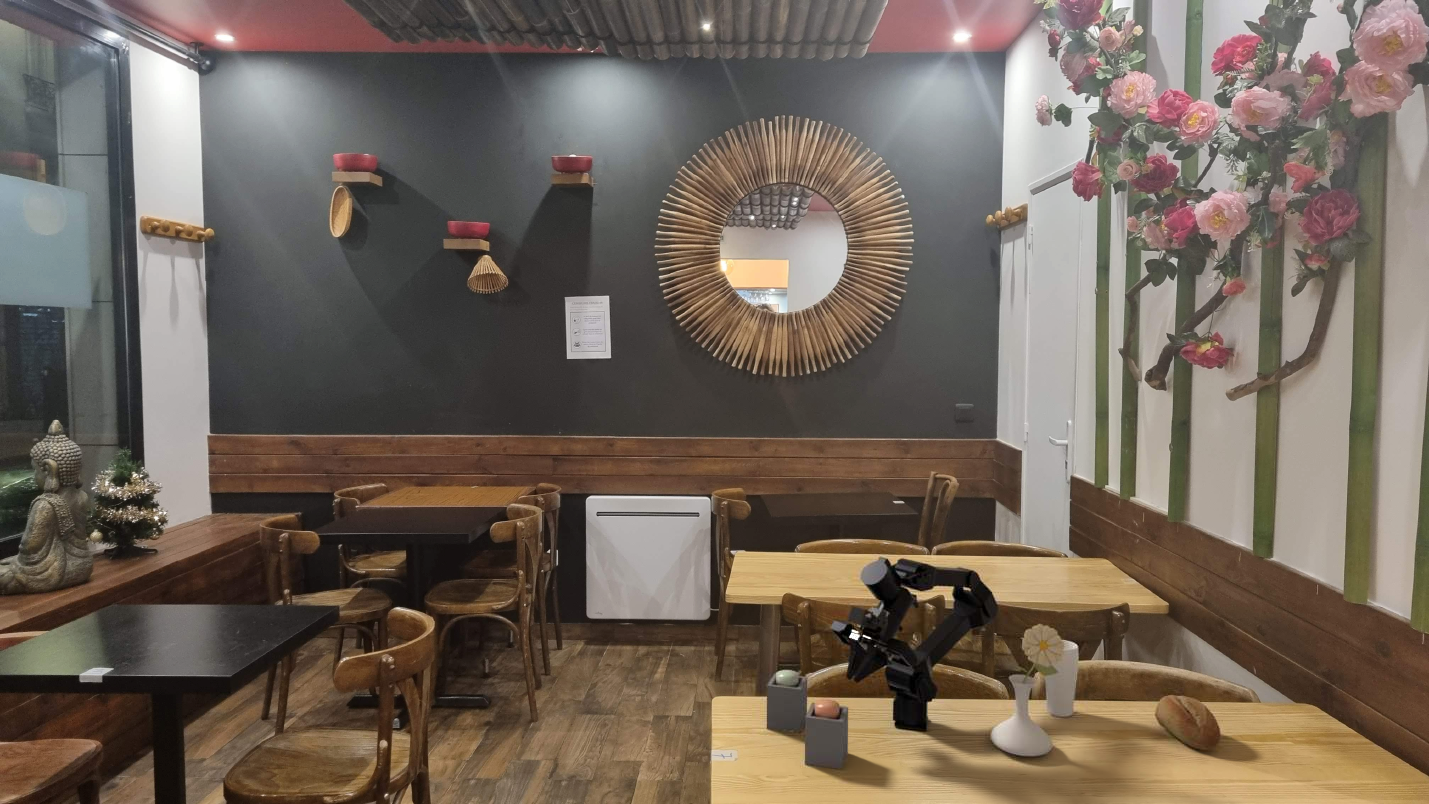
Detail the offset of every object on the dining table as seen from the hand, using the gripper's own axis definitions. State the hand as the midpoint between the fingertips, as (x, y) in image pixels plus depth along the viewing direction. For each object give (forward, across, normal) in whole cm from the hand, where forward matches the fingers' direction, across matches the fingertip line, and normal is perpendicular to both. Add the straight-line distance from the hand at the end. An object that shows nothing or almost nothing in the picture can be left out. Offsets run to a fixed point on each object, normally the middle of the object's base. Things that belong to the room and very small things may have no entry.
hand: (851, 680), depth 162 cm
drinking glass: (-24, +16, +44) cm, 52 cm away
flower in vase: (-9, +21, +29) cm, 37 cm away
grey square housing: (+14, 0, +5) cm, 15 cm away
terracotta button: (+9, 0, -1) cm, 9 cm away
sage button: (+6, -16, +2) cm, 17 cm away
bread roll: (-30, +38, +50) cm, 70 cm away
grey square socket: (+11, -16, +8) cm, 21 cm away
